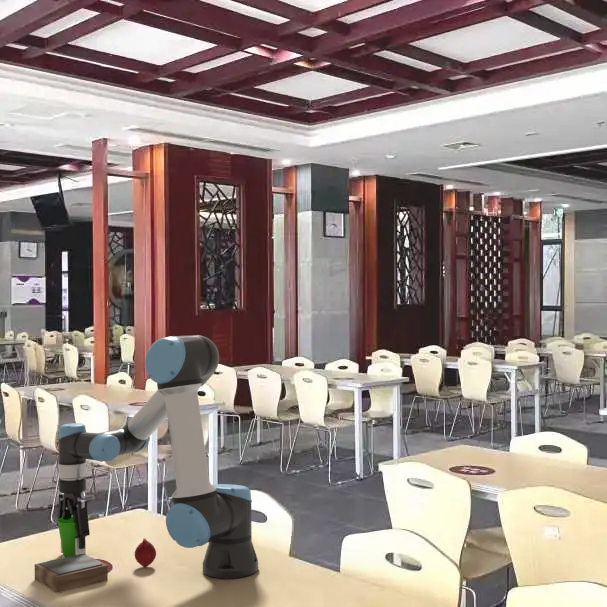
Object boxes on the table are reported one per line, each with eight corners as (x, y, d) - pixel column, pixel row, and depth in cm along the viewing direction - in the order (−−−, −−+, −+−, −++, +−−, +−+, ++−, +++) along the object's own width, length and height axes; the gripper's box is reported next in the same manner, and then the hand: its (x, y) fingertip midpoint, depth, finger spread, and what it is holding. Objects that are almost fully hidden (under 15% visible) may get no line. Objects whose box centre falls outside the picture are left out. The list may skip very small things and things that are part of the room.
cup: (80, 563, 232) (80, 524, 232) (50, 561, 234) (50, 522, 234) (94, 553, 241) (94, 516, 241) (66, 552, 243) (65, 514, 243)
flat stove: (107, 580, 217) (107, 564, 217) (57, 592, 208) (56, 575, 208) (83, 567, 228) (83, 552, 228) (34, 579, 219) (34, 563, 219)
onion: (160, 565, 229) (159, 536, 229) (148, 571, 224) (147, 542, 224) (143, 562, 232) (142, 534, 232) (130, 569, 226) (130, 539, 226)
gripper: (101, 481, 232) (102, 561, 232) (68, 470, 248) (69, 545, 248) (76, 485, 227) (77, 567, 227) (44, 473, 243) (45, 550, 243)
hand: (73, 555), depth 237 cm, fingers closed on cup, 9 cm apart
